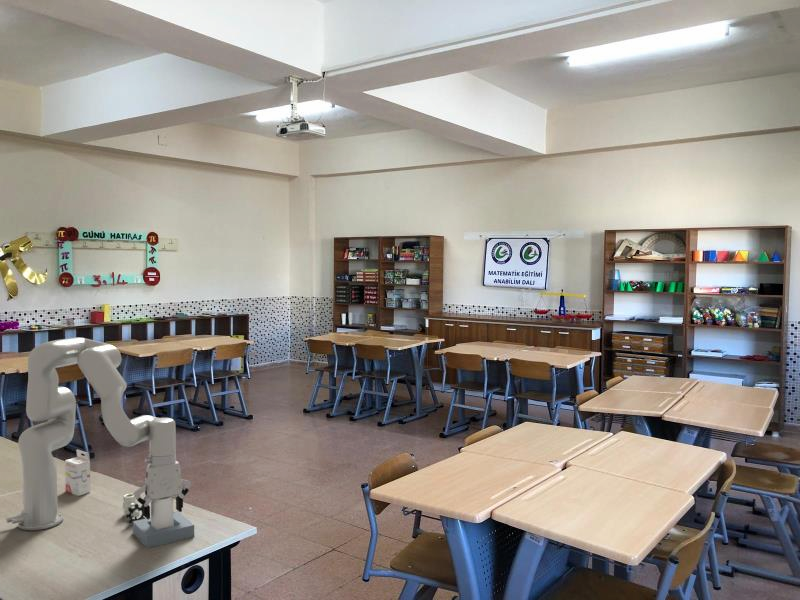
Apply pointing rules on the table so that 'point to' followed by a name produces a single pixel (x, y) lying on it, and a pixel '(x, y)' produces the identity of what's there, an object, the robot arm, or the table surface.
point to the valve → (131, 508)
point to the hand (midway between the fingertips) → (163, 514)
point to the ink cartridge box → (78, 474)
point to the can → (162, 513)
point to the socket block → (163, 531)
